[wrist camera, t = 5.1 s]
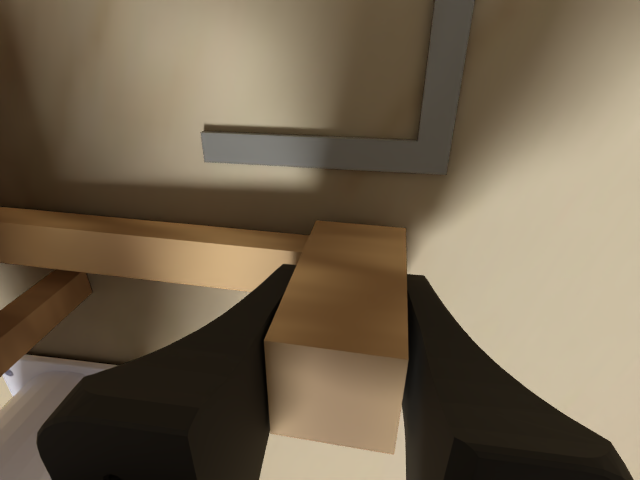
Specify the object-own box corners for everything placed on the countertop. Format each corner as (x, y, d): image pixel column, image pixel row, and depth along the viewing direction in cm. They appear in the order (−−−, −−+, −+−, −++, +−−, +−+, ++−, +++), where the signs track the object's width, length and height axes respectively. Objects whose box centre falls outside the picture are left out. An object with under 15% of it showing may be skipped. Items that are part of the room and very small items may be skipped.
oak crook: (-63, 249, 18) (-257, 343, 12) (-175, 27, 14) (-533, 29, 8) (396, 301, 15) (394, 454, 9) (429, 37, 11) (456, 51, 5)
